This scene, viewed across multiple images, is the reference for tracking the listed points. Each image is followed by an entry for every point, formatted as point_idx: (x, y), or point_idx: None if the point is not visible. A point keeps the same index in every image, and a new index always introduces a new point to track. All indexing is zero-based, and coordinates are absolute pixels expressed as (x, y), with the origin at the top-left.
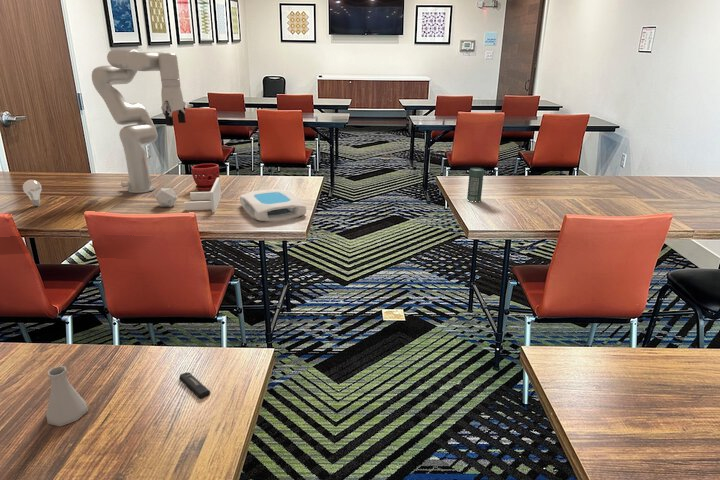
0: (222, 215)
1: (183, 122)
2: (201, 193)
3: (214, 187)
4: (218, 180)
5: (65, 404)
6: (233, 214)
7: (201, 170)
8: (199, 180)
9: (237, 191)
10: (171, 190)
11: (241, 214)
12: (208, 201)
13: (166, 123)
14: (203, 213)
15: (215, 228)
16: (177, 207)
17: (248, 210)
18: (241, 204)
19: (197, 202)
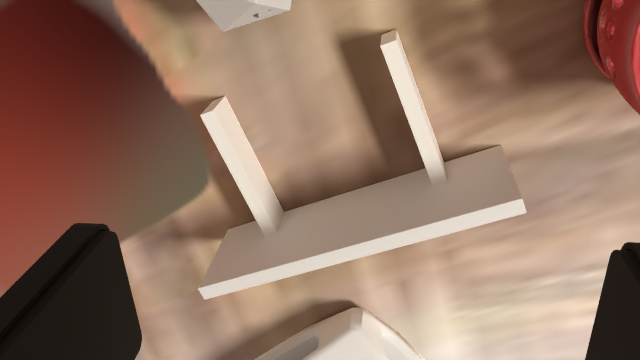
0: None
1: (587, 356)
2: (403, 107)
3: (288, 274)
4: (456, 230)
5: None
6: (238, 309)
7: (623, 62)
8: (601, 13)
9: (610, 202)
10: (241, 8)
11: (248, 334)
12: (259, 218)
13: (58, 253)
14: (205, 200)
15: None
16: (241, 34)
17: (276, 355)
18: (339, 314)
19: (232, 173)
